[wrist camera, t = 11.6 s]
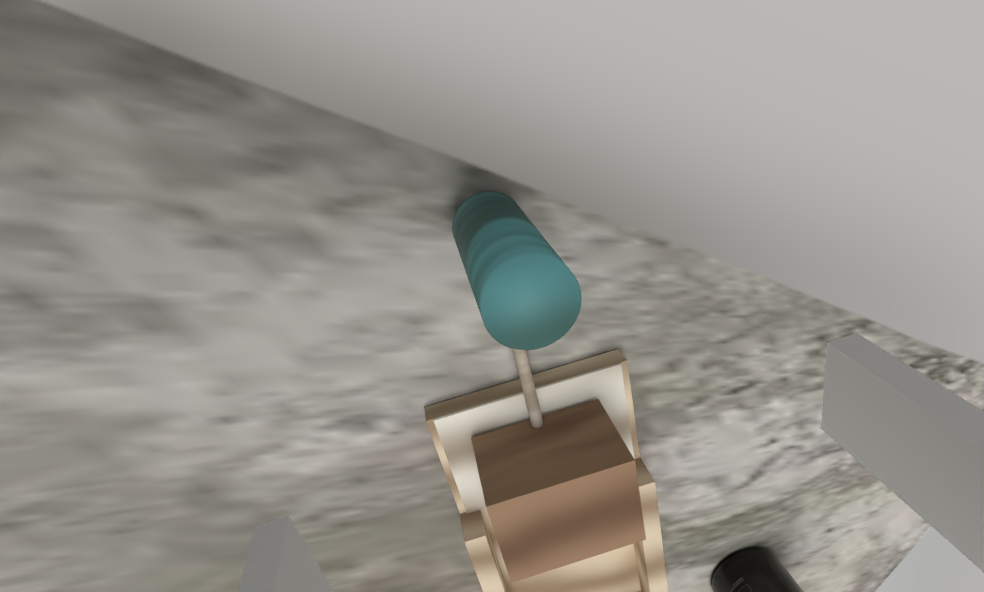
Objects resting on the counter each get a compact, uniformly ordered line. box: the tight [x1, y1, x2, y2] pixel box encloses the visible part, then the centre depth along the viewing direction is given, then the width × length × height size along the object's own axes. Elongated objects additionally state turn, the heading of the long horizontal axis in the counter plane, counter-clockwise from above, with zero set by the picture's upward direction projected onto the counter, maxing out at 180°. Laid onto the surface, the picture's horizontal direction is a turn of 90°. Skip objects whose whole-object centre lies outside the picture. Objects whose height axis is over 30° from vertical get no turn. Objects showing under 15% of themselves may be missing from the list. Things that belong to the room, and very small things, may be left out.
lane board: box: [425, 349, 668, 592], centre depth 40 cm, size 26×14×6 cm, turn 13°
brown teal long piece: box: [452, 191, 646, 583], centre depth 30 cm, size 23×9×10 cm, turn 13°
